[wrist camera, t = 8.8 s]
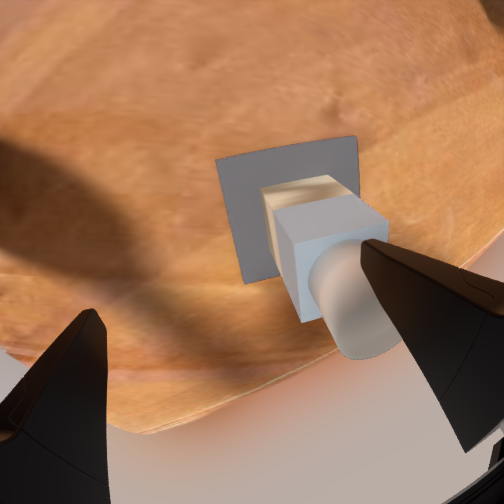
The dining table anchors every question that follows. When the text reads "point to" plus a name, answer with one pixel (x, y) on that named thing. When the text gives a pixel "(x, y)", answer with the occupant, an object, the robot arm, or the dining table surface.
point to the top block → (320, 240)
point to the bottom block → (295, 201)
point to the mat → (272, 173)
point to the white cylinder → (350, 303)
